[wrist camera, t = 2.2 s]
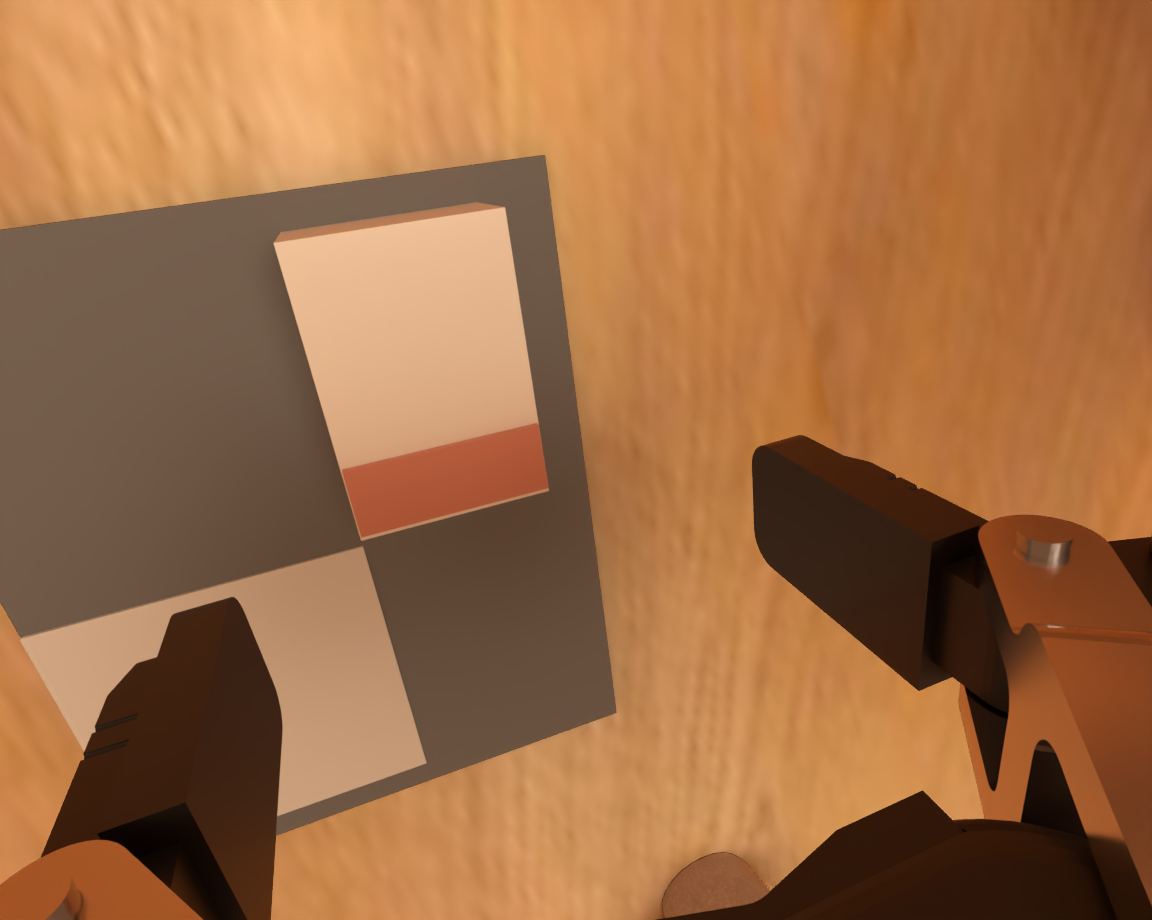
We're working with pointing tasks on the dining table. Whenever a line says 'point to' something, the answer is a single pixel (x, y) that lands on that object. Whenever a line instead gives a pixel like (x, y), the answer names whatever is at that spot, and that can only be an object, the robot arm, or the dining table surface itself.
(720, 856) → the house plant
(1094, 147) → the dining table surface
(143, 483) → the mat
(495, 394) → the card box
